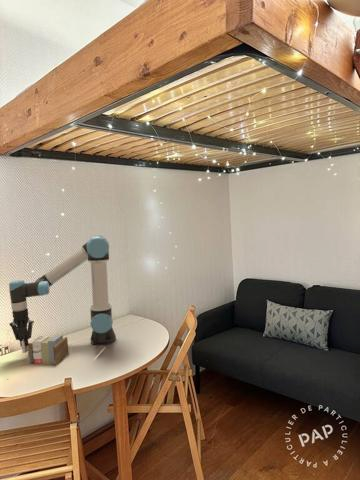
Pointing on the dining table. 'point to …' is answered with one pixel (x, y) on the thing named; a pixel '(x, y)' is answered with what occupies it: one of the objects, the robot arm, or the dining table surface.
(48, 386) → the dining table surface
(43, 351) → the book
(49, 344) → the book
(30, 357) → the bookend
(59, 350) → the shelf
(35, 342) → the ink box
